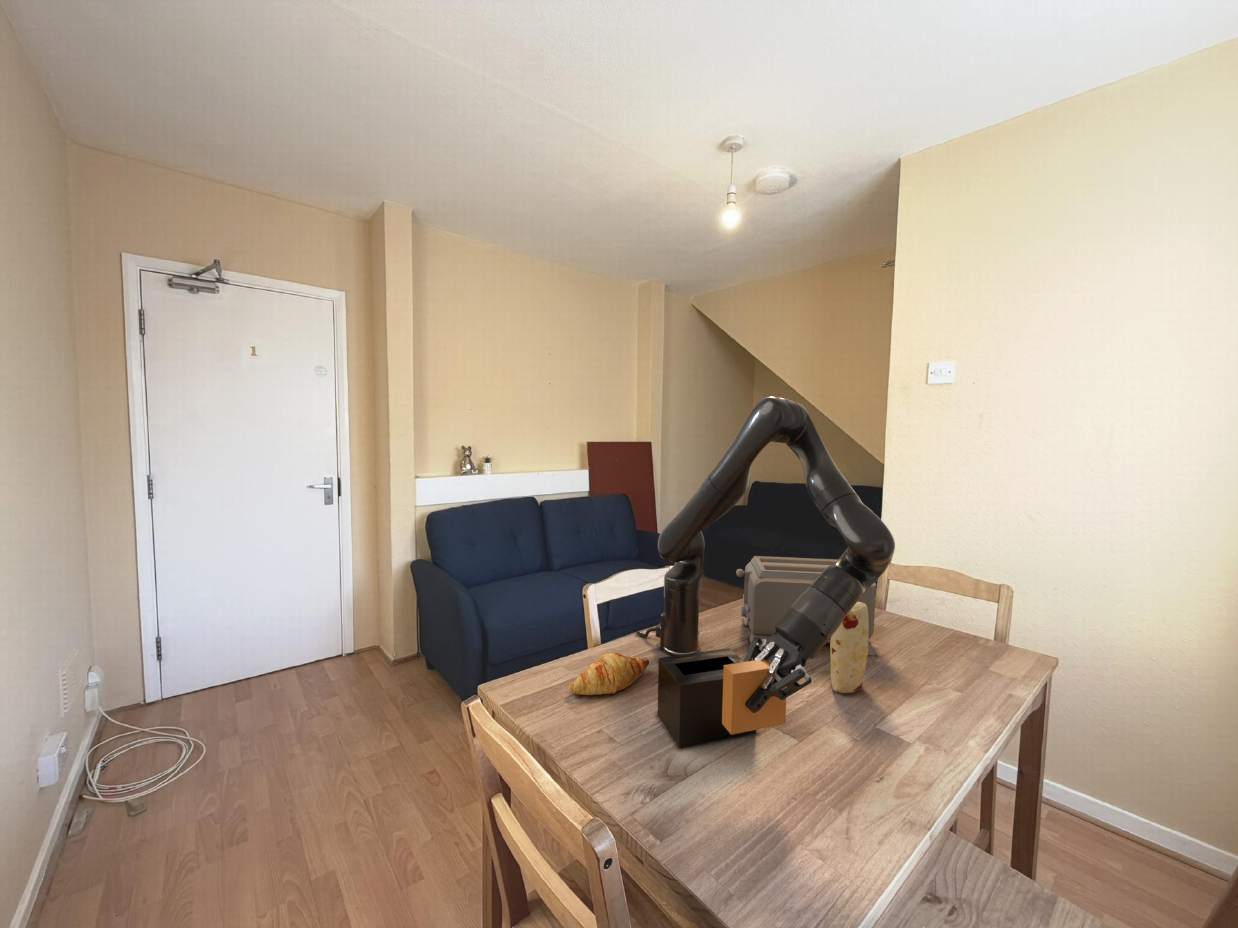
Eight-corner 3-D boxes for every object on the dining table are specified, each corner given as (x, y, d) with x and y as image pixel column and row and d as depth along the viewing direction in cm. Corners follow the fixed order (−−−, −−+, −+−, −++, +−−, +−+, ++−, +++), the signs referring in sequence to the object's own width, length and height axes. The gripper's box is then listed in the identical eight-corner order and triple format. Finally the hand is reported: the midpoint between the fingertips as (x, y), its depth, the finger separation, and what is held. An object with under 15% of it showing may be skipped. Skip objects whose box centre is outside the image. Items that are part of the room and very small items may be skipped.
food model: (846, 701, 104) (851, 611, 103) (820, 687, 110) (823, 601, 108) (873, 689, 109) (878, 603, 108) (846, 676, 115) (850, 594, 113)
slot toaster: (657, 714, 99) (658, 657, 98) (727, 701, 104) (728, 647, 103) (681, 751, 88) (682, 687, 87) (758, 735, 93) (760, 675, 92)
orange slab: (721, 723, 79) (723, 664, 79) (774, 713, 82) (776, 656, 81) (731, 734, 77) (733, 674, 76) (785, 724, 79) (787, 665, 79)
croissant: (576, 718, 103) (584, 695, 99) (556, 679, 110) (563, 656, 106) (654, 686, 115) (664, 664, 111) (631, 653, 122) (640, 631, 118)
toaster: (731, 618, 149) (733, 553, 148) (851, 625, 145) (854, 558, 143) (737, 646, 130) (739, 571, 129) (876, 655, 125) (880, 578, 124)
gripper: (772, 593, 87) (708, 668, 84) (827, 624, 73) (753, 715, 71) (796, 619, 89) (734, 693, 86) (853, 654, 75) (783, 742, 73)
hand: (743, 702), depth 79 cm, fingers closed on orange slab, 3 cm apart
